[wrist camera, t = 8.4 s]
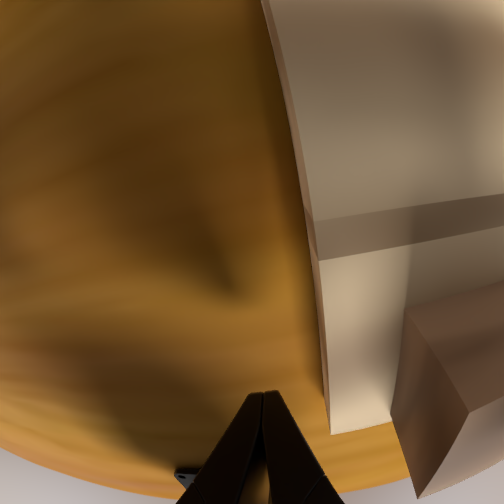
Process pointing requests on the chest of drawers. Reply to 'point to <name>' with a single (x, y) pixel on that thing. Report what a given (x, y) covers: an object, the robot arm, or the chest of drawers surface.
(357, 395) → the board
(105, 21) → the chest of drawers surface
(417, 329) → the walnut block
